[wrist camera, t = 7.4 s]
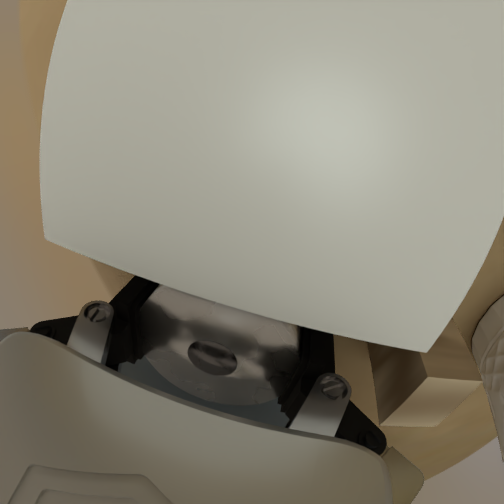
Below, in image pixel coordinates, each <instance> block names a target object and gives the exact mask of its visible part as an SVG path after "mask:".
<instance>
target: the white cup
mask: <svg viewBox="0 0 504 504" xmlns="http://www.w3.org/2000/svg"><path fill="white" fill-rule="evenodd" d="M472 353H473V356H474V358H475V360H476V363H477V365H478V368H479V370H480V373H481V377H482V380H483V385H484V388H485V391H486V394H487V397H488V402H489V406H490V409H491V413H492V416H493V420H494V423H495V427H496V431H497V435H498V440H499V444H500V449H501V454H502V460H503V464H504V295H503V296H502V297H501V298H500V299H499V300H498V301H496V302H495V303H494V304H493V305H492V306H491V307H490V308H489V310H488V311H487V312H486V314H485V315H484V316H483V318H482V319H481V320H480V322H479V324H478V326H477V328H476V331H475V333H474V335H473V337H472Z"/></svg>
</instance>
